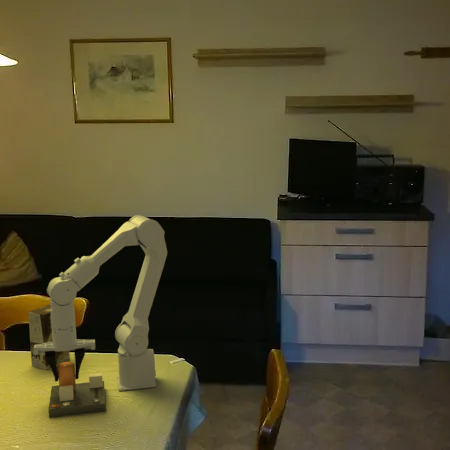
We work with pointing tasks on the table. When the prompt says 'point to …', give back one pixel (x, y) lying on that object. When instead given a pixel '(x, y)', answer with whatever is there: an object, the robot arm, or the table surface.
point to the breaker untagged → (95, 380)
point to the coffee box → (42, 336)
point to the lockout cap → (66, 374)
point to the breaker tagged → (66, 393)
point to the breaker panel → (78, 401)
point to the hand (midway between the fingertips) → (66, 378)
